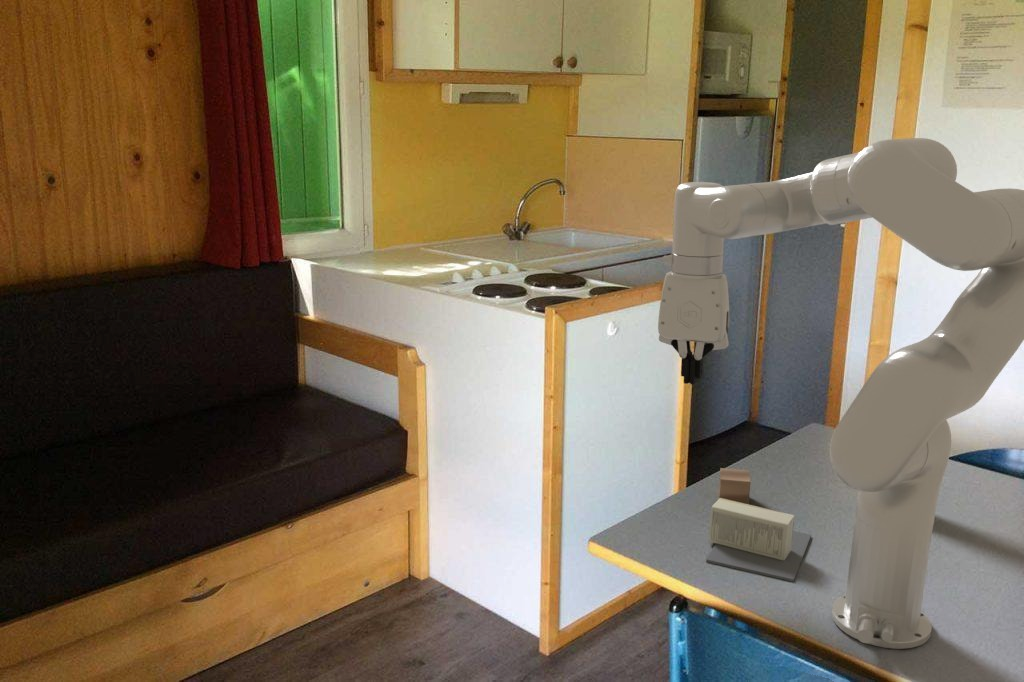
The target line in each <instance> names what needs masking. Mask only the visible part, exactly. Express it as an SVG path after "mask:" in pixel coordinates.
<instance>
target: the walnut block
mask: <svg viewBox="0 0 1024 682" xmlns="http://www.w3.org/2000/svg"><path fill="white" fill-rule="evenodd" d="M719 469H720V470H719V482H718V493H717V494H718V495H717V496H718V499H719V498H723V499H727V500H731V501H735V502H740V503H744V504H748V505H750V493H751V474H750V470H746V469H735V468H722V467H720V468H719Z"/></svg>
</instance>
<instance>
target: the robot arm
mask: <svg viewBox="0 0 1024 682" xmlns="http://www.w3.org/2000/svg"><path fill="white" fill-rule="evenodd" d="M957 175H958V166H957V162H956V159H955V157H954V155H953V154H952V152H951V151H950V149H949V148H947V146H945V145H944V144H942V143H941V142H940V141H936V139H935V140H934V139H932V138H925V137H922V138H921V137H918V138H916V137H915V138H912V137H910V138H893V139H884V140H879V141H876V142H873V143H872V144H869V145H868V146H866V147H864V148H863V149H862V150H861V151H859V152H855V153H850V154H845V155H841V156H836V157H833V158H832V157H831V158H827V159H824V160H821V161H820V162H819V163H817V164H816V166H815V167H814V169H813V171H811V172H808V173H804V174H799V175H796V176H792V177H786V178H782V179H778V180H773V181H767V182H766V181H765V182H754V183H743V184H732V185H725V186H724V185H722V184H720V183H717V182H710V181H709V182H707V181H691V182H682V183H681V184H679V185H678V186H677V187H676V189H675V192H674V205H673V206H674V207H673V232H672V252H671V254H669V255H663V256H662V257H663V258H662V264H663V265H667V266H669V268H670V271H669V272H666V274H665V276H664V279H663V285H662V289H661V297H660V305H659V312H658V322H657V323H658V324H657V325H658V326H657V330H658V335H659V336H658V341H660V342H661V343H664V344H666V345H669V346H672V348H674V349H675V351H676V352H677V353H678V356H679V358H681V366H680V368H681V369H680V377H683V384H687V385H688V384H690V385H691V386H692V385H693V386H694V385H696V383H697V382H699V380H700V379H702V377H703V371H704V370H703V369H704V357H705V356H707V355H708V354H709V353H710V352H711V351H717V350H725V349H727V348H728V347H729V345H730V343H729V337H728V333H729V328H730V298H729V297H730V296H729V286H728V280H727V275H726V274H723V261H724V243H725V242H724V241H725V239H726V240H736V239H744V238H750V237H755V236H762V235H769V234H770V235H771V234H777V233H782V232H788V231H791V230H797V229H803V228H808V227H813V226H819V225H824V224H827V225H829V226H834V225H839V224H845V223H850V222H856V221H860V220H861V221H862V220H866V219H872V218H873V219H874V220H875V221H877V222H878V223H879V224H880V225H882V226H884V227H885V228H886V229H888V230H889V231H891V232H892V233H894V234H895V235H896V236H898V237H899V238H901V239H902V240H903V241H904V242H906V243H908V244H909V245H910V246H912V247H914V248H915V249H916V250H918V251H919V252H921V253H922V254H923V255H925V256H926V257H928V258H929V259H931V260H932V261H934V262H936V263H937V264H940V265H941V266H943V267H945V268H949V269H952V270H956V271H960V272H961V271H962V272H963V271H964V272H968V271H969V272H970V271H971V272H972V271H978V270H979V272H978V273H977V275H976V276H975V278H973V280H971V282H970V283H969V284H968V285H967V286H966V288H965V289H964V290H963V291H962V292H961V293H960V294H959V295H958V297H957V298H956V300H955V301H954V302H953V304H952V305H951V307H950V308H949V309H950V310H949V311H948V312H947V313H946V315H945V317H944V318H943V319H942V321H940V323H939V325H938V326H937V327H936V328H935V329H934V330H933V332H931V334H930V335H928V337H926V338H924V339H922V340H920V341H918V342H915V343H912V344H909V345H906V346H904V347H901V348H899V349H897V350H895V351H893V352H891V353H890V354H889V355H888V356H887V357H885V358H884V359H883V360H882V361H881V362H880V363H879V364H878V365H877V366H876V367H875V369H874V370H873V371H872V372H871V373H870V375H869V377H868V378H867V379H866V381H865V383H864V384H863V386H861V387H862V388H861V389H860V390H859V392H858V393H857V394H856V396H855V398H854V399H853V401H852V402H851V404H850V405H849V406H848V408H847V410H846V412H845V413H844V415H842V417H841V419H840V420H839V422H838V424H837V425H836V427H835V429H834V431H833V433H832V436H831V440H830V444H829V459H830V463H831V466H832V469H833V470H834V472H835V474H836V476H837V477H838V478H839V479H840V481H841V482H843V483H844V484H845V485H846V486H847V487H848V486H849V488H851V489H854V490H857V491H858V493H857V497H856V505H855V513H854V520H853V521H854V522H853V528H852V529H853V530H852V538H851V544H850V546H851V547H850V555H849V562H848V563H849V564H848V570H847V571H848V572H847V581H846V590H845V593H844V594H843V595H841V596H839V597H837V598H836V599H834V601H833V602H832V605H831V613H830V614H831V618H832V620H833V622H834V624H835V625H837V627H838V628H839V629H840V630H841V631H843V632H844V633H845V634H847V635H848V636H850V637H852V638H854V639H856V640H857V641H859V642H861V643H863V644H867V645H872V646H874V647H879V648H886V649H892V650H893V649H894V650H895V649H896V650H903V649H904V650H905V649H912V648H916V647H920V646H921V645H924V644H925V643H927V642H928V640H929V639H930V638H931V635H932V629H933V626H932V622H931V620H930V618H929V617H928V616H927V615H926V614H925V613H924V611H922V607H923V601H924V600H923V599H924V593H925V585H926V578H927V571H928V565H929V564H928V563H929V558H930V549H931V543H932V537H933V528H934V523H935V519H936V518H935V517H936V509H937V506H938V505H937V504H938V500H939V499H938V498H939V494H940V489H941V486H942V481H943V479H944V476H945V472H946V469H947V465H948V463H949V458H950V455H951V449H952V432H951V431H952V430H951V427H950V424H949V423H948V420H949V419H950V418H953V417H955V416H957V415H960V414H961V413H963V412H966V411H968V410H970V408H973V407H974V406H975V405H977V404H978V403H979V402H980V401H981V400H982V398H984V396H985V395H986V393H987V392H988V390H989V388H990V387H991V386H992V385H993V383H994V382H995V380H996V379H997V378H998V376H999V375H1000V373H1001V372H1002V371H1003V369H1004V368H1005V367H1006V365H1007V364H1008V363H1009V361H1010V360H1011V359H1012V358H1013V356H1014V355H1015V354H1016V352H1017V351H1018V349H1019V348H1020V346H1021V345H1022V343H1023V341H1024V190H1023V189H1021V188H996V189H989V190H983V191H972V190H970V189H968V188H967V187H965V186H963V185H962V184H960V182H958V181H957ZM691 342H695V343H696V344H695V350H694V354H693V351H692V343H691Z"/></svg>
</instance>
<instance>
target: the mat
mask: <svg viewBox="0 0 1024 682" xmlns="http://www.w3.org/2000/svg"><path fill="white" fill-rule="evenodd" d="M811 538H812V534H810V533H806V532H805V533H804V532H802V531H801V532H799V531H795V530H793V538H792V549H791V551H790V553H789V554H788V556H787V558H786V559H785V561H782V560H778V559H775V558H771V557H767V556H763V555H759V554H755V553H751V552H748V551H744V550H740V549H736V548H732V547H728V546H724V545H720V544H716V543H714V545H713V547H712V549H711V551H710V552H709V554H708V556H707V558H706V559H705V562H706V563H709V564H714V565H717V566H724V567H727V568H732V569H735V568H736V570H740V571H744V572H748V571H749V572H748V573H753V574H758V575H761V574H762V575H763V576H766V577H770V576H771V578H775V579H780V580H784V581H788V582H793V583H794V581H795V579H796V577H797V573H798V571H799V568H800V566H801V563H802V560H803V558H804V556H805V553H806V550H807V548H808V546H809V543H810V540H811Z"/></svg>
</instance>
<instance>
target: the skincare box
mask: <svg viewBox="0 0 1024 682" xmlns="http://www.w3.org/2000/svg"><path fill="white" fill-rule="evenodd" d="M710 508H711V509H710V517H709V518H710V522H709V529H708V530H709V531H708V532H709V533H708V542H709V543H713V544H720V545H724V546H728V547H732V548H736V549H740V550H744V551H748V552H751V553H755V554H759V555H763V556H767V557H771V558H775V559H778V560H782V561H785V559H786V558H787V556H788V554H789V553H790V551H791V549H792V538H793V531H794V526H795V517H796V516H795V514H791V513H786V512H783V511H778V510H774V509H773V510H772V509H769V508H764V507H761V506H758V505H757V506H756V505H753V504H749V505H748V504H744V503H740V502H735V501H731V500H727V499H723V498H719V497H718V499H717V501H715V503H713V504H712V506H711V507H710Z"/></svg>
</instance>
